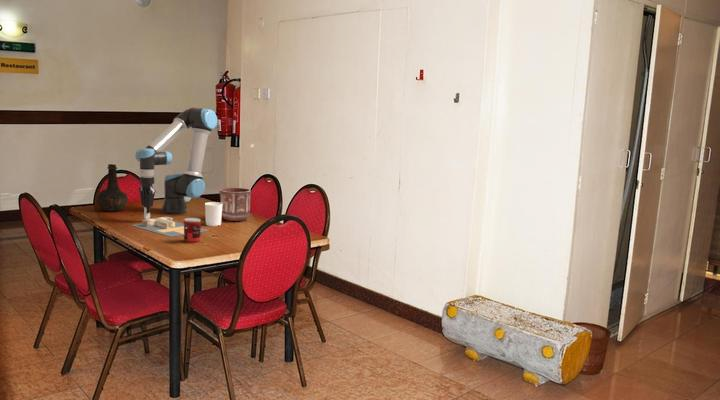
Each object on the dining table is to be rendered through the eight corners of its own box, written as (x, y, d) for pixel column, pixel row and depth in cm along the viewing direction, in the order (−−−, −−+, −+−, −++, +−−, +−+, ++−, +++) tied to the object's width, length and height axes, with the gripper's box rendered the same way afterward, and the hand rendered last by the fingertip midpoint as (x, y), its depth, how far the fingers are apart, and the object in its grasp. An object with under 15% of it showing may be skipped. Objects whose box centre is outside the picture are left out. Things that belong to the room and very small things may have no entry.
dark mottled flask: (111, 206, 381) (111, 161, 376) (134, 209, 375) (134, 164, 370) (89, 210, 364) (88, 164, 360) (113, 214, 358) (112, 166, 354)
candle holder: (225, 224, 347) (226, 203, 345) (216, 227, 338) (216, 205, 336) (210, 222, 350) (211, 201, 349) (200, 225, 341) (201, 203, 339)
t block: (167, 221, 344) (167, 216, 344) (183, 226, 335) (183, 220, 335) (141, 225, 332) (141, 219, 331) (158, 230, 323) (158, 224, 322)
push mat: (169, 220, 350) (169, 219, 350) (209, 230, 328) (209, 230, 328) (131, 225, 331) (131, 225, 331) (170, 237, 309) (170, 236, 309)
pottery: (230, 215, 372) (230, 186, 369) (255, 219, 366) (256, 189, 362) (213, 220, 355) (213, 190, 352) (239, 224, 349) (240, 193, 346)
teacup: (186, 204, 403) (186, 192, 402) (171, 202, 405) (171, 190, 404) (196, 201, 417) (196, 189, 415) (181, 199, 419) (181, 188, 417)
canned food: (185, 239, 307) (185, 217, 305) (201, 239, 308) (201, 218, 306) (182, 242, 299) (182, 220, 298) (199, 243, 300) (199, 221, 298)
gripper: (134, 175, 339) (134, 217, 343) (147, 178, 331) (147, 221, 335) (146, 174, 345) (146, 215, 349) (159, 177, 337) (159, 219, 341)
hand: (147, 218), depth 342 cm, fingers closed
